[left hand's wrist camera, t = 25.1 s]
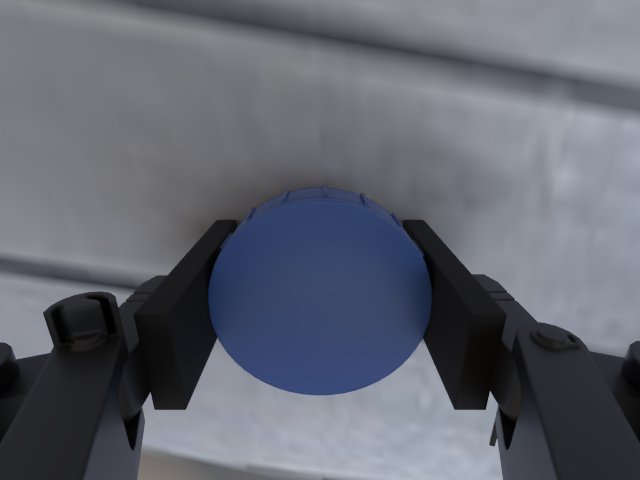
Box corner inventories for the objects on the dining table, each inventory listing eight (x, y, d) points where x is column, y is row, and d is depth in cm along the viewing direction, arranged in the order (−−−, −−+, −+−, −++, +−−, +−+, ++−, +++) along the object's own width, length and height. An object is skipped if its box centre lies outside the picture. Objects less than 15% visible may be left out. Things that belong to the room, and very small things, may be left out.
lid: (449, 318, 12) (467, 348, 11) (282, 388, 13) (277, 423, 12) (370, 145, 10) (378, 152, 9) (179, 245, 11) (158, 266, 10)
